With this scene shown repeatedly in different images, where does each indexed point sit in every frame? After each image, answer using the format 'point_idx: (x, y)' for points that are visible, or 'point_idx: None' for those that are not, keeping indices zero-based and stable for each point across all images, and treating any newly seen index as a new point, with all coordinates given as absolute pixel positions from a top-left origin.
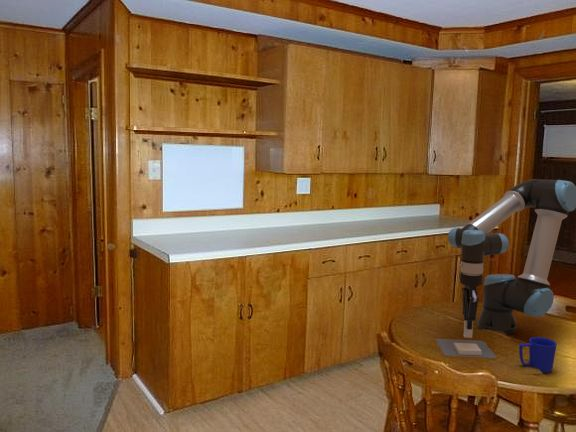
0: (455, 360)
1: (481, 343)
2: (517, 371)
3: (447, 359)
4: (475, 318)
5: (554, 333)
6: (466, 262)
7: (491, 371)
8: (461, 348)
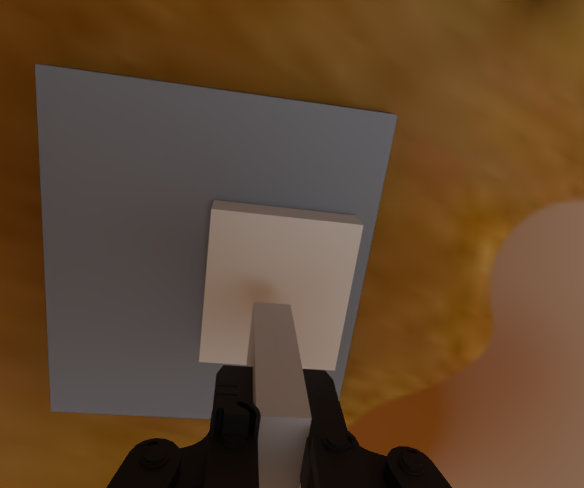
0: None
1: (105, 110)
2: (545, 37)
3: None
4: (443, 478)
5: None
6: None
7: (512, 212)
8: (307, 345)
